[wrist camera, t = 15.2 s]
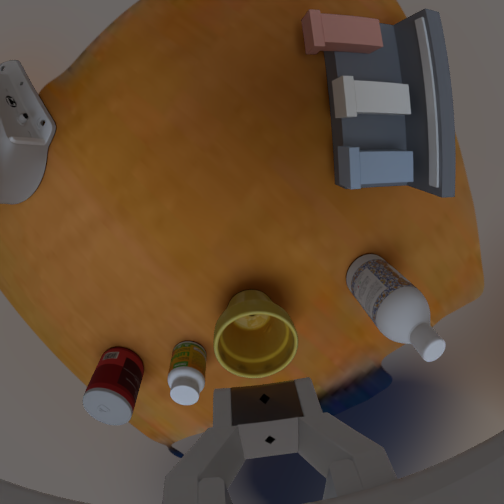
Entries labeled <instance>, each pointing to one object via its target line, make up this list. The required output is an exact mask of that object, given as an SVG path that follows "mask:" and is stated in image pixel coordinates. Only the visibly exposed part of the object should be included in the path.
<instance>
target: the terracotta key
mask: <svg viewBox="0 0 504 504" xmlns="http://www.w3.org/2000/svg"><path fill="white" fill-rule="evenodd" d="M301 21H302V28H303V35H304V43H305V51H306V54H317V53H318V52H319V51H339V52H355V53H367V54H370V53H372V52H374V51H376V50H378V49H380V48H382V47H383V42H382V36H381V30H380V24H379V19H373V18H365V17H357V16H347V15H336V14H320V10H310V9H309V10H308V12H307V13H306V15H305V16H304V17H303V19H302V20H301Z"/></svg>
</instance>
